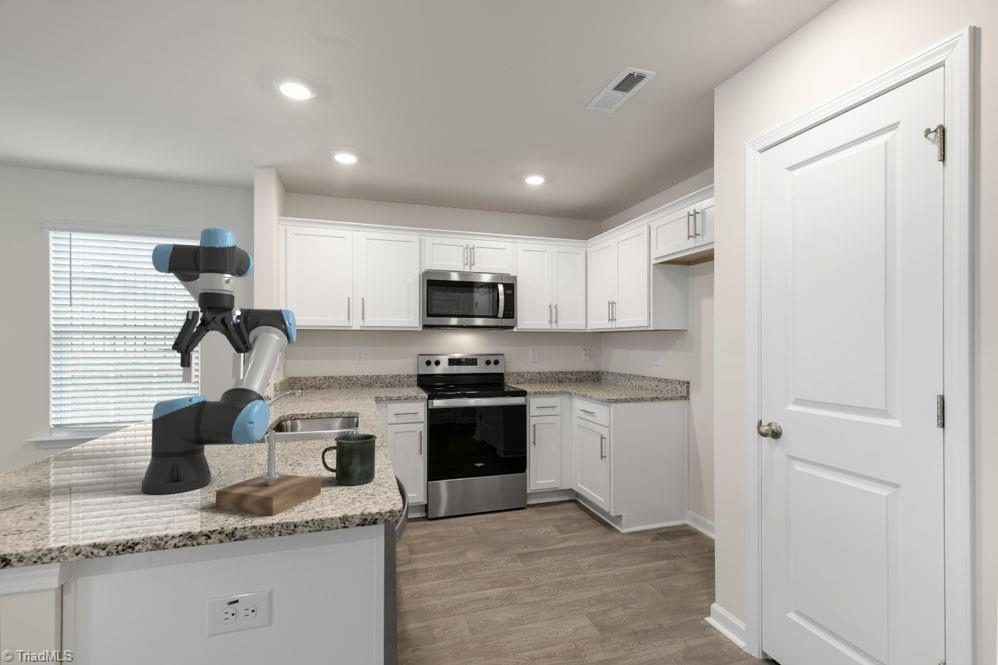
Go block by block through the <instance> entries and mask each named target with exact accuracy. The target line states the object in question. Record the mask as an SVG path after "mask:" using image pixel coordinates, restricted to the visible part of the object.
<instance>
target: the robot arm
mask: <svg viewBox="0 0 998 665" xmlns="http://www.w3.org/2000/svg"><path fill="white" fill-rule="evenodd" d="M237 245H238V242H237V235H236V233H235V232H233V231H232V230H229V229H225V228H223V229H222V228H215V227H213V228H212V227H211V228H210V227H208V228H205V229H203V230H201V233H200V241H199V245H198V244H197V245H196V244H178V243H170V244H169V243H162V244H157V245H156V246H155V247H154V248H153V251H152V254H151V262H152V263H151V264H152V265H153V267H154V269H155V270H156V271H157V272H158V273H161V274H167V275H169V274H173V276H174V277H175V278H176V279H177V281H179V282H180V284H182V286H183V287H184V289H185V290H186V291H187V292H188V293H189V295H190V296H191V297H192V298H193V299H194V301H195V302H196V303H197V304H198V306H197V307H198V308H199V309H200V310H187V311H186V314H185V320H184V323H183V324H182V326H181V328H180V330H179V332H178V334H177V336H176V338H175V340H174V342H173V343H172V345H171V349H172V351H176V353H178V354H180V364H179V366H180V367H181V368H182V377H181V378H182V381H181V382H183V383H195V377H196V376H195V375H196V374H195V372H196V353H193V351H194V350H195V349H196V347H197V346H198V344H200V343H201V341H202V340H203V338H204V337H206V335H208V333H209V332H213V331H214V332H218V333H220V334H222V335H224V337H225V338H226V339H227V341H228V342H229V344H230V345H231V347H232V349H234V351H235V352H233V353H232V363H231V364H232V369H231V370H232V372H231V375H232V376H231V379H235V381H234V383H233V385H232V387H231V388H229V389H227V390H225V391H224V392H223V393H222V395H221V397H220V399H219V400H208V399H207V397H206V396H205V395H194V396H186V397H179V398H172V399H167V400H162V401H159V402H157V403H155V405H153V409H152V410H153V411H152V418H151V452H150V453H151V454H150V455H151V456H150V460H149V463H148V466H147V469H146V471H145V474H144V477H143V479H142V481H141V492H142V493H144V494H150V495H168V494H177V493H184V492H189V491H193V490H194V491H195V490H197V489H198V490H199V489H200V488H203V487H206V486H208V485H209V484H211V482H212V472H211V470H210V467H209V464H208V461H207V458H206V454H205V446H221V445H223V446H225V445H226V446H227V445H228V446H229V445H237V446H241V445H243V446H244V445H251V444H255V443H258V442H259V441H260V440H262V439H263V438H264V436H265V433H267V429H268V427H269V421H270V418H271V417H270V416H271V409H270V405H269V403H268V402H267V401H266V399H265V393H266V390H267V387H268V385H269V382H270V379H271V377H272V374H273V371H274V368H275V365H276V363H277V359H278V357H279V355H280V353H282V352H283V351H285V349H286V348H287V347H288V345H291V344H295V343H296V342H297V322H296V317H295V314H294V312H293V311H292V310H290V309H282V308H280V309H274V308H273V309H270V308H269V309H266V308H243V307H239V305H237V304H236V303H235V295H234V293H236V292H235V289H236V286H235V285H236V278H244V277H247V276H249V275H250V274H251V273H252V272H253V269H254V267H255V264H254V259H253V258H252V256H251V254H249V253H248V251H246V250H244V249H242V248H241V247H238V246H237ZM199 321H200V322H199Z"/></svg>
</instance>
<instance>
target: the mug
mask: <svg viewBox="0 0 998 665" xmlns="http://www.w3.org/2000/svg"><path fill="white" fill-rule="evenodd" d="M377 439H378V437H377V436H376V435H375V434H368V433H353V434H352V433H351V434H344V435H340V436H339V435H338V436H337V437H335V438H334V441H335V444H336V445H333V446H329V447H328V446H327V447H325V448H324V449H323V451H322V453H321V463H322V465H323V467H324V469H325V470H327V471H328V472H330V473H334V474H335V482H336V483H337V484H339V485H342V486H358V485H366V484H368V483H371V482H373V480H374V479H375V475H376V474H375V473H376V472H375V471H376V466H375V465H376V440H377ZM333 450H335V468H332V467H330V466H329V465H328V463H327V462H326V460H325V459H326V457H325V455H326V453H327V452H330V451H333Z"/></svg>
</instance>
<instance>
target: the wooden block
mask: <svg viewBox="0 0 998 665" xmlns="http://www.w3.org/2000/svg"><path fill="white" fill-rule="evenodd" d="M321 486H322V478H321V477H315V476H314V477H313V476H303V475H302V476H301V475H295V474H293V475H292V474H283V473H282V476H281V477H279V478H278V479H277V483H276V484H275V485H269V486H268V485H264V479H260V475H259V476H255V477H252V478H250V479H247V480H243V481H240V482H237V483H233V484H231V485H228V486H225V487H222V488H219V489H216V490H215V509H219V510H226V511H234V512H242V513H247V514H248V513H249V514H255V515H262V516H263V515H265V516H271V517H274V516H276V515H278V514H280V513H282V512H284V511H287V510H289V509H292V508H293V507H296V506H298V505H300V504H302V503H304V502H307V501H308V500H311V499H313V498H316V497H318V496H320V495H321V494H322V493H321V491H322V490H321V488H322V487H321Z"/></svg>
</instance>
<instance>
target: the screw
mask: <svg viewBox="0 0 998 665" xmlns="http://www.w3.org/2000/svg"><path fill="white" fill-rule="evenodd" d="M267 441H268V443H267V470H266V471H267V472H263V473H262V474H260V475H259V476H260V479H264V485H268V486H269V485H275V484H276V483H277V479H278V478H279V477H281V476H282V474H283V473H281V471H276V469H277V468H276V456H277V453H276V450H277V440H276V430H274V429H271V430H269V433H268V440H267Z"/></svg>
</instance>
